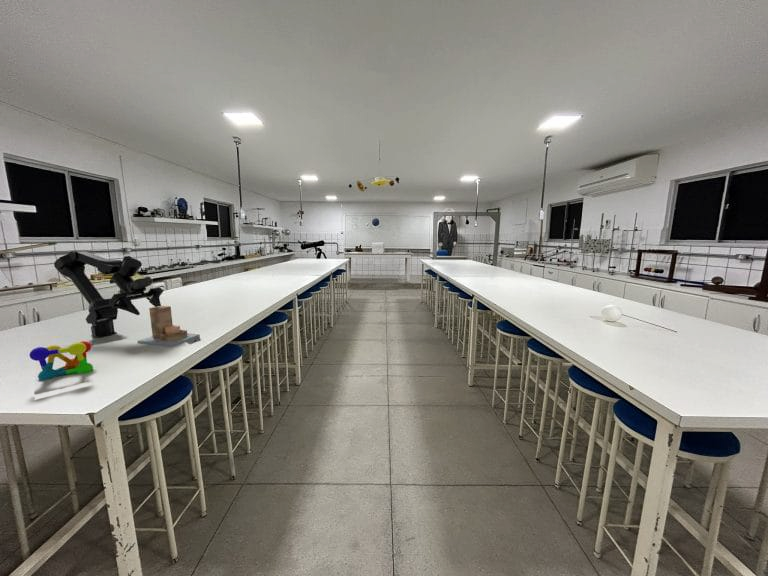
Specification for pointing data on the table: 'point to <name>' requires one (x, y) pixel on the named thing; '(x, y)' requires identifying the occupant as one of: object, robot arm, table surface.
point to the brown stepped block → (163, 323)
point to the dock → (155, 341)
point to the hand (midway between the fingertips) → (150, 311)
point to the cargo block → (172, 330)
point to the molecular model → (55, 351)
